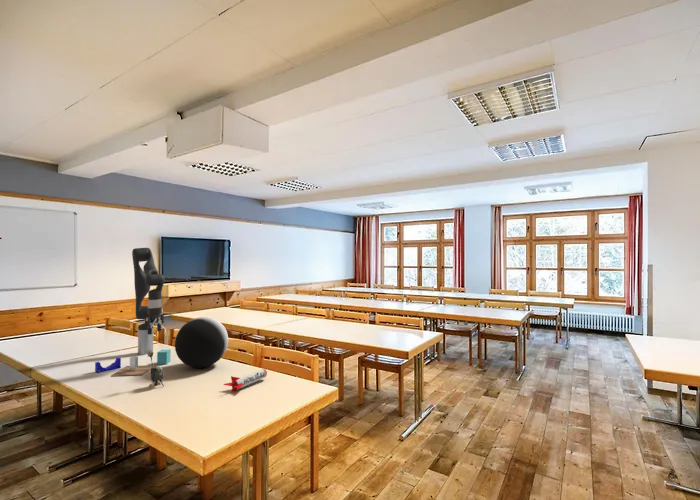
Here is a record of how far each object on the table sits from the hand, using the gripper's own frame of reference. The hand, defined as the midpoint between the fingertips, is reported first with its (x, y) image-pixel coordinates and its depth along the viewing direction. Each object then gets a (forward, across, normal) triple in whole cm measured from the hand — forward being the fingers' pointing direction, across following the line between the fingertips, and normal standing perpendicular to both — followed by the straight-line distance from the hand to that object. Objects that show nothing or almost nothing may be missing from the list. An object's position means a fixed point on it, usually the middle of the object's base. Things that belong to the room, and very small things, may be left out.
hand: (154, 332), depth 214 cm
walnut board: (+20, +14, -3) cm, 24 cm away
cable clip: (+20, +12, -21) cm, 31 cm away
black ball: (+20, 0, +31) cm, 37 cm away
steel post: (+19, +14, -3) cm, 23 cm away
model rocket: (+20, +28, +73) cm, 81 cm away
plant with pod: (+20, +34, +26) cm, 47 cm away
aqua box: (+20, -4, +4) cm, 21 cm away
